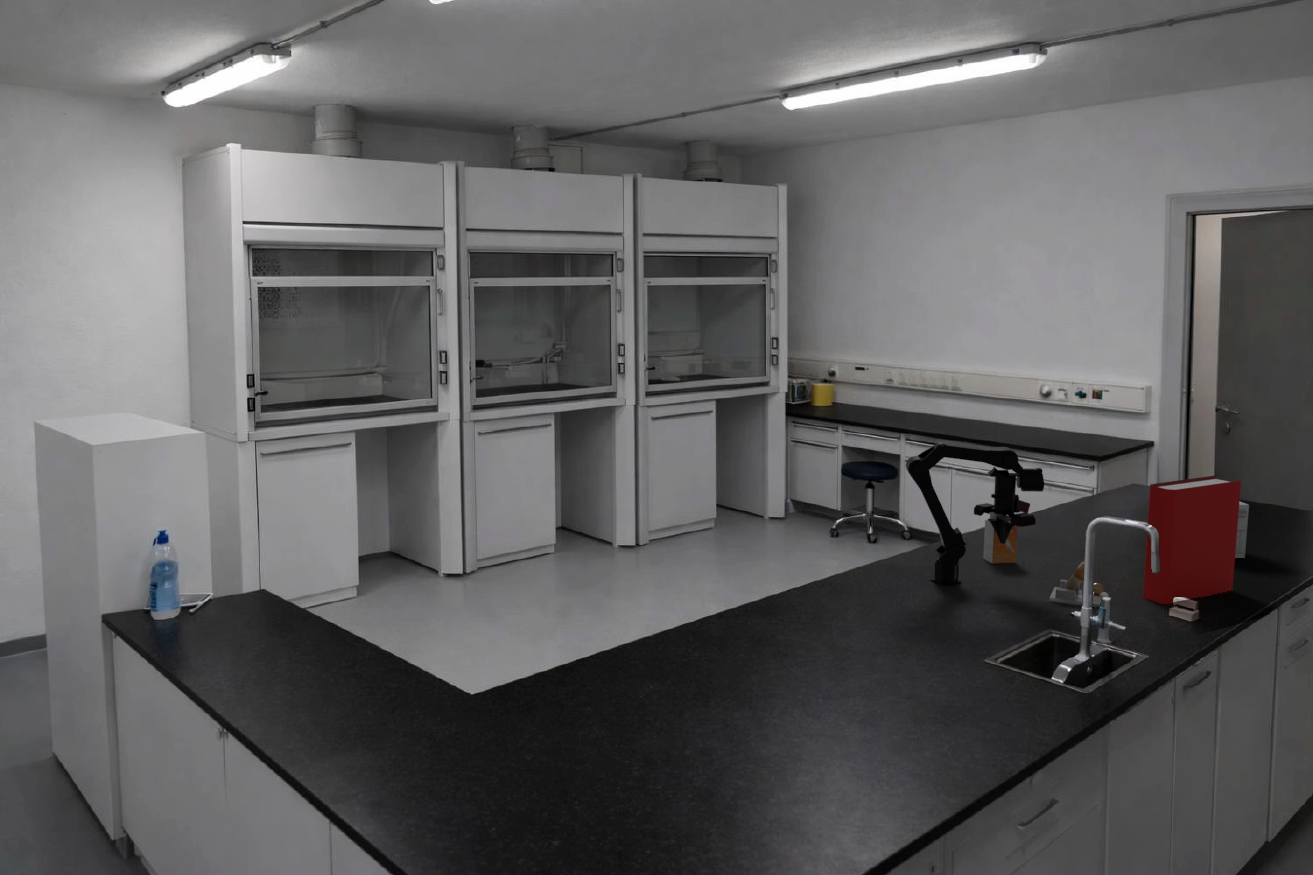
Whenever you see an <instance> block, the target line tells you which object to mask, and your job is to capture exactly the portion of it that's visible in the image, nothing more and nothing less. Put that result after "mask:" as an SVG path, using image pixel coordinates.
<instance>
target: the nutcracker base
mask: <svg viewBox="0 0 1313 875" xmlns="http://www.w3.org/2000/svg"><path fill="white" fill-rule="evenodd" d="M1068 580H1069V579H1068ZM1068 580H1067V579H1060V580H1059V587H1058V586H1054V587H1053V590H1052V592H1051V594H1050V596H1049V599H1048V600H1049V602H1050V603H1058V604H1066V605H1067V604H1068V605H1074V606H1081V604H1082V590H1083V589H1082V590H1081V589H1080V585H1079V586H1078V587H1077V588H1076V590H1069V589H1065V586H1064V585H1065V584H1066V582H1067V581H1068ZM1092 584H1093V604H1094V605H1097V606H1098V605H1100V603H1101V598H1102V597H1108V598H1109V593H1107V592H1106V591H1104V586H1103V584H1101V582H1094V583H1092Z"/></svg>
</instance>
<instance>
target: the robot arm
mask: <svg viewBox="0 0 1313 875" xmlns="http://www.w3.org/2000/svg"><path fill="white" fill-rule="evenodd" d="M944 458H948V459H955V460H956V459H957V460H961V461H963V460H964V461H970V462H977V463H978V462H979V463H984V464H988V465H990V466H993V468H992V469H990V471H987V474H988V476H990V477H991V478H993V477H994V493H992V494H991V496H990V497H991V498H992V499H993V501H994V502H993V503H987V502H985V503H980V504H979V503H978V504H976V505H975V506H974V508H973V515H975V516H979V517H981V516H983V515H984V514H988V515H989V518H987V520H988V521H990V523H991V525H992V526H993V528H994V530H995V532H996V534H997V536H998V539H999V541H1000V543H1002V544H1005V543H1006V540H1007V538H1008V536H1009V533H1010V531H1011V529H1012V527H1013V526H1014V525H1016V526H1018V527H1019V528H1020V527H1021V528H1023V527H1030V526H1035V525H1036V520H1037V519H1036V516H1035V515H1034V514H1031V513H1029V510H1030V507H1031V503H1029V502H1026V501H1024V500H1020V496H1019V494H1016V489H1017V488H1018V489H1020V491H1021V492H1034V493H1035V492H1041V493H1042V492H1044V489H1045V480H1044V474H1043V469H1042V468H1041V467H1034V468H1032V467H1031V468H1024V467H1023V466H1022V465H1021V464H1020V463H1019V455H1018V454H1017V453H1016V451H1014V450H1013V449H1012V448H1009V447H1008V446H997V447H995V446H993V447H987V448H985V447H984V448H983V447H977V446H966V445H960V444H959V445H957V444H952V443H945V442H943V441H939V442H936V443H935V444H933V445H932V446H931V447H929V448H927V449H925V450H923V451H922V452H920V453H919V454H917V455H913V456H911V457H909V458H908V459H907V460H906V463H905V469H906V471H907V473H908V474H909V475H910V477H911V478H912V480H913V482H914V483H915V485H916V486H917V487H918V488H919V490H920V492H921V493H922V494H921V495H922V496H923V499H924V501H925V503H926V506H927V507H928V510H929V511H930V514H931V515H932V518H933V521H934V523H935V524H936V526H937V528H938V534H939V538H940V541H941V545H939V546H938V547H937V548H936V549H935V550H934V554H935V557H936V558H937V559H936V560H935V561H934V575H933V576H934V577H931V578H930V581H933V582H934V583H937V584H940V585H942V586H949V585H955V584H959V583H962V580H961V579H959V568H960V566H959V562H960V559H961V558H963V557H964V555H966V553H967V552H966V551H967V548H966V546H967V544H968V543H967V542H966V540H964V538H963V534H962V532H961V530H960V529H959V527H958V526H957V527H955V528H953V526H952V524H951V521H950V520H949V518H948V516H947V514H946V512H945V510H944V507H943V506H942V503H941V501H940V499H939V497H938V494H937V492H936V490H935V487H934V486H933V481H932V476H931V473H930V470H931V469H932V468H934V467H935V466H937V464H938V463H939V462H940V461H942V459H944ZM997 468H999V469H997ZM1010 470H1011V471H1013V472H1010ZM1016 486H1017V487H1016Z"/></svg>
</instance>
